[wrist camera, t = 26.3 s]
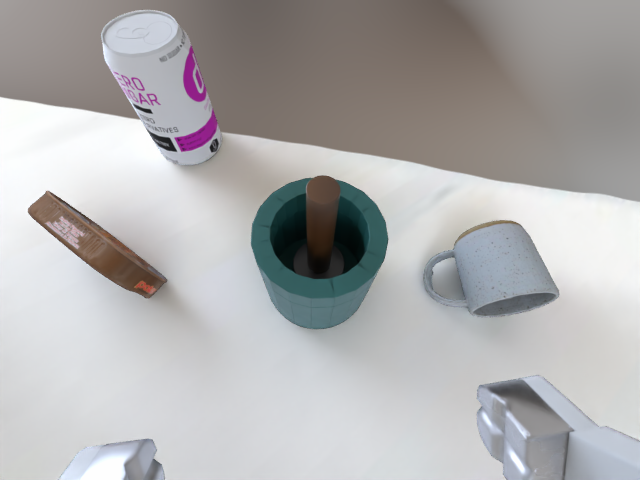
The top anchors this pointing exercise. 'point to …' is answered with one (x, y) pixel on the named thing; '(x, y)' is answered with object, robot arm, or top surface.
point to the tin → (96, 245)
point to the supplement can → (163, 84)
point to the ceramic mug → (497, 271)
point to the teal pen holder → (291, 233)
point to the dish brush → (320, 232)
